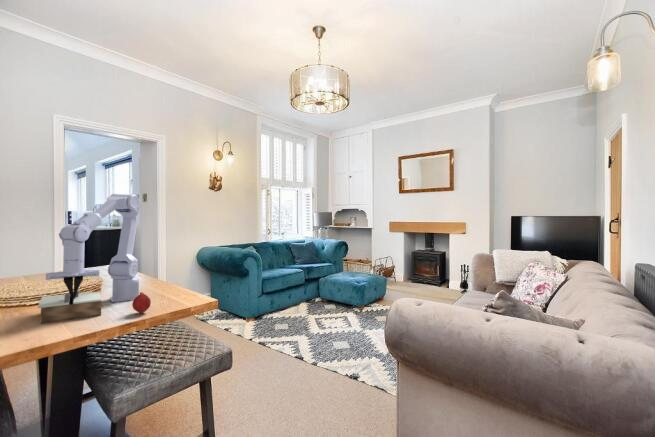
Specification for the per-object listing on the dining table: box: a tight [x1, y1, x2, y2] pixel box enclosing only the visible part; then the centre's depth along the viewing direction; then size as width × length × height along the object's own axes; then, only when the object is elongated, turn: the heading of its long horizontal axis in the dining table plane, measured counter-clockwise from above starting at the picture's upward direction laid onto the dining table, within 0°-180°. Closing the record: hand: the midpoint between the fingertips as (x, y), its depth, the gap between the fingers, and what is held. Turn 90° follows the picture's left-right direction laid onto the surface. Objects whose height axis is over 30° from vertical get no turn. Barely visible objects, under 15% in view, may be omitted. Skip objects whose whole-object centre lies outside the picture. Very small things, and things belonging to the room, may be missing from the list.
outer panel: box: [37, 292, 70, 309], centre depth 110 cm, size 8×13×3 cm, turn 37°
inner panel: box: [73, 289, 102, 304], centre depth 116 cm, size 8×13×3 cm, turn 37°
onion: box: [131, 291, 152, 315], centre depth 117 cm, size 6×6×8 cm
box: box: [40, 297, 102, 324], centre depth 113 cm, size 16×13×5 cm
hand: (73, 298), depth 111 cm, fingers closed
